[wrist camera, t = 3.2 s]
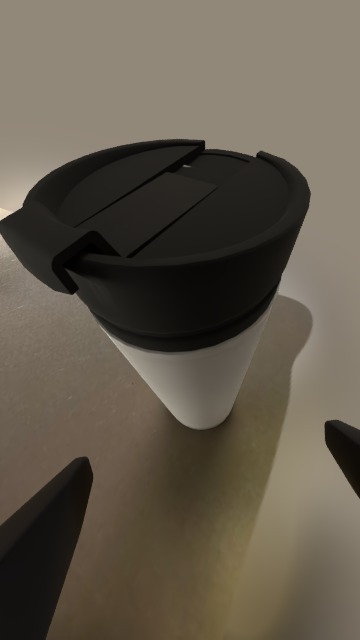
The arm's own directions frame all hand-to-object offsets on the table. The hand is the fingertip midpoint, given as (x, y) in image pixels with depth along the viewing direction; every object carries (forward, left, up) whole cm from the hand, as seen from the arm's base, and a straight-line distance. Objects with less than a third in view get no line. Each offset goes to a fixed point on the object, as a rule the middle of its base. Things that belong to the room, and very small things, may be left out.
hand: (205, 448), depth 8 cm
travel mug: (+3, -4, -12) cm, 13 cm away
